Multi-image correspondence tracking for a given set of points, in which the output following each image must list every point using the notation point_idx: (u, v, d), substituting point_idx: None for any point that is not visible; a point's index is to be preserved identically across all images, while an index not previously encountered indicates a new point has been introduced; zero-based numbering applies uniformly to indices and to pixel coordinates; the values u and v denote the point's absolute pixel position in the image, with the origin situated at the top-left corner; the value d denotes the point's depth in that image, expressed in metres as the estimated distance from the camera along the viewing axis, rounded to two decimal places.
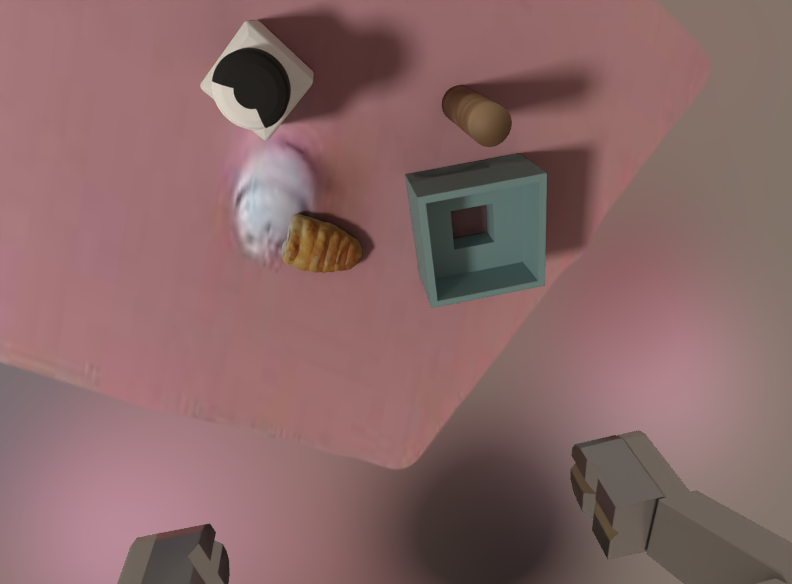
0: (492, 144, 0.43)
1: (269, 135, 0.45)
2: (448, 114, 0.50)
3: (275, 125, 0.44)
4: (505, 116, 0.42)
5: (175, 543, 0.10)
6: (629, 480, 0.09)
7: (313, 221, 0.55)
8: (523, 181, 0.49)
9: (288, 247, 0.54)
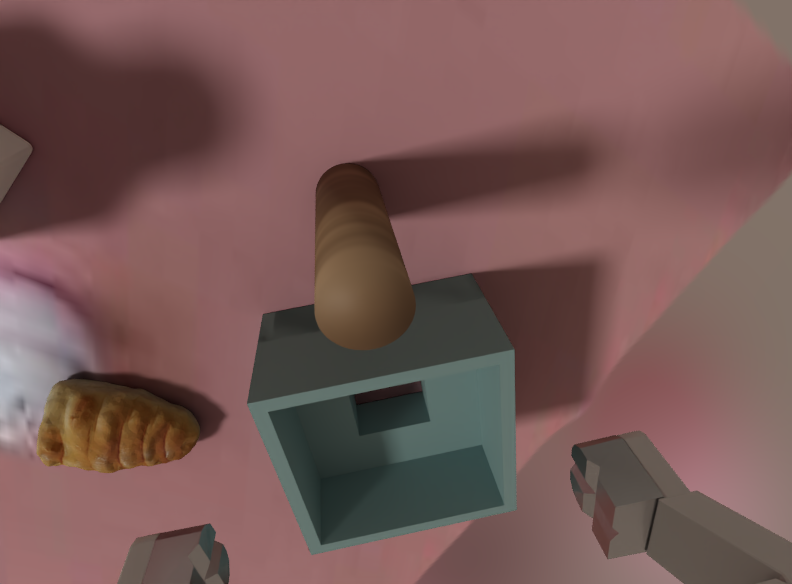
0: (373, 345, 0.18)
1: None
2: None
3: None
4: (397, 287, 0.17)
5: (175, 543, 0.10)
6: (629, 481, 0.09)
7: (89, 397, 0.30)
8: (467, 365, 0.24)
9: (38, 450, 0.29)
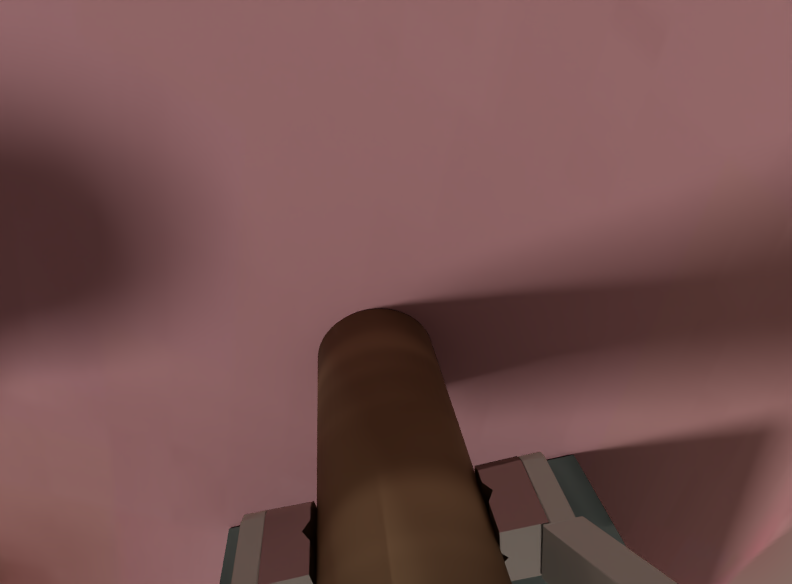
0: None
1: None
2: None
3: None
4: None
5: (284, 519, 0.10)
6: (518, 505, 0.09)
7: None
8: None
9: None
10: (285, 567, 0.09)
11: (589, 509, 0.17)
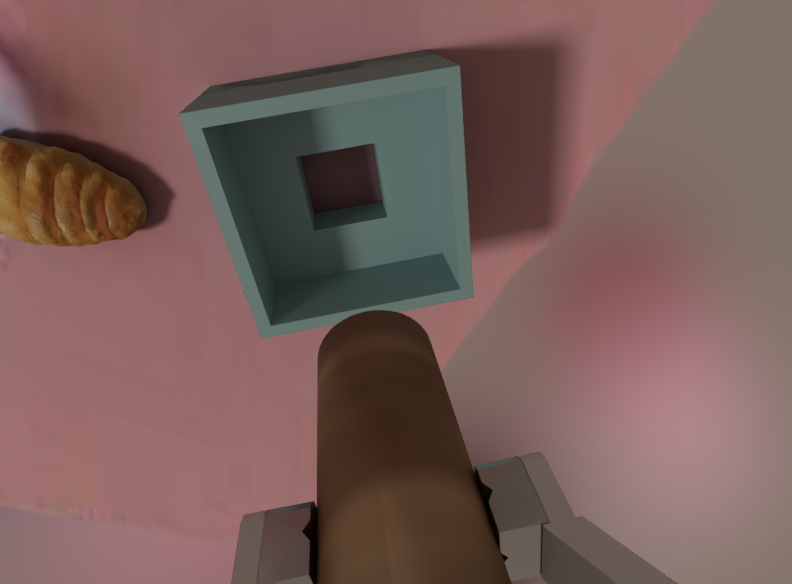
0: None
1: None
2: None
3: None
4: None
5: (284, 519, 0.10)
6: (518, 505, 0.09)
7: (17, 144, 0.28)
8: (410, 83, 0.23)
9: None
10: (285, 567, 0.09)
11: (426, 54, 0.28)
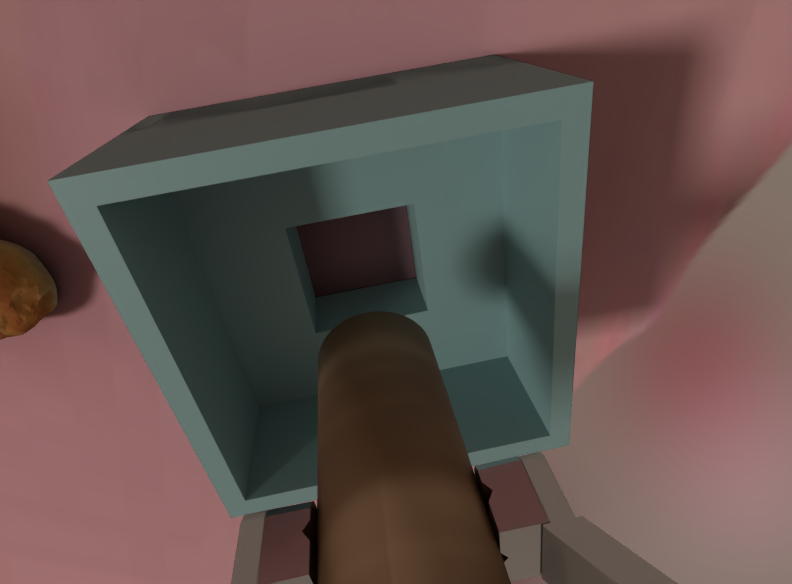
0: None
1: None
2: None
3: None
4: None
5: (284, 519, 0.10)
6: (518, 505, 0.09)
7: None
8: (498, 116, 0.12)
9: None
10: (285, 567, 0.09)
11: (500, 62, 0.17)
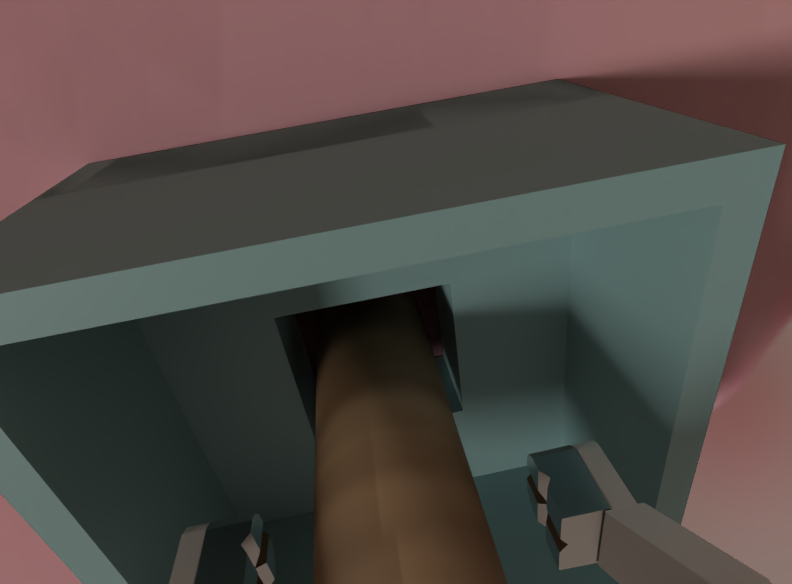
0: None
1: None
2: None
3: None
4: None
5: (226, 532, 0.10)
6: (578, 492, 0.09)
7: None
8: (622, 202, 0.07)
9: None
10: (220, 581, 0.09)
11: (577, 94, 0.12)
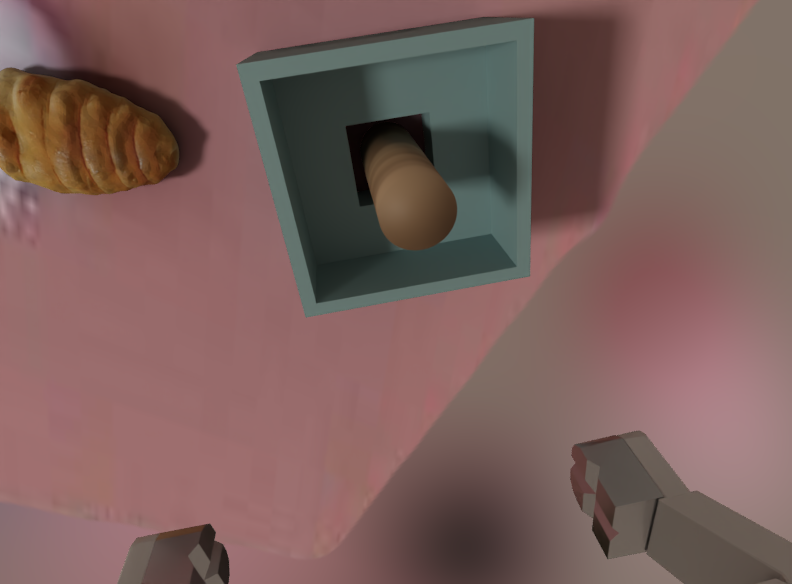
0: (421, 246, 0.22)
1: None
2: None
3: None
4: (444, 196, 0.21)
5: (176, 543, 0.10)
6: (629, 481, 0.09)
7: (39, 76, 0.26)
8: (481, 37, 0.22)
9: None
10: None
11: (486, 19, 0.27)
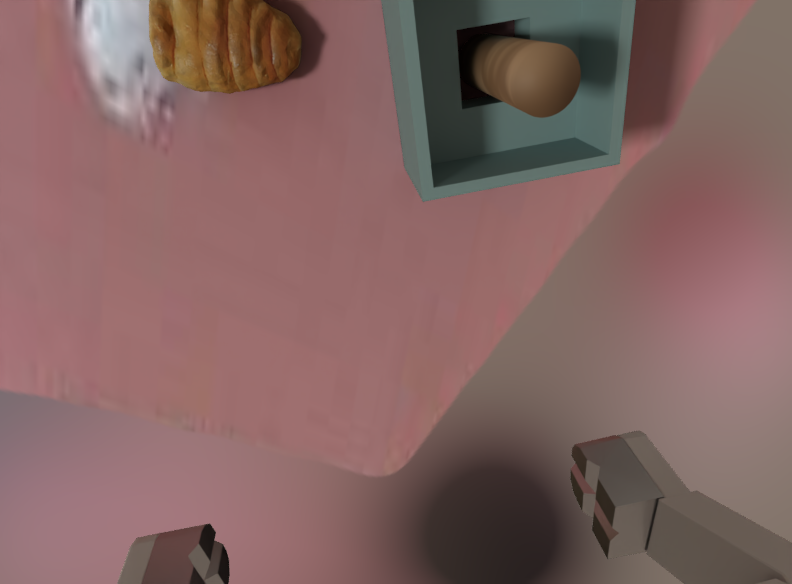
0: (547, 113, 0.26)
1: None
2: (469, 74, 0.33)
3: None
4: (570, 64, 0.25)
5: (175, 543, 0.10)
6: (629, 480, 0.09)
7: None
8: None
9: (151, 30, 0.29)
10: None
11: None
